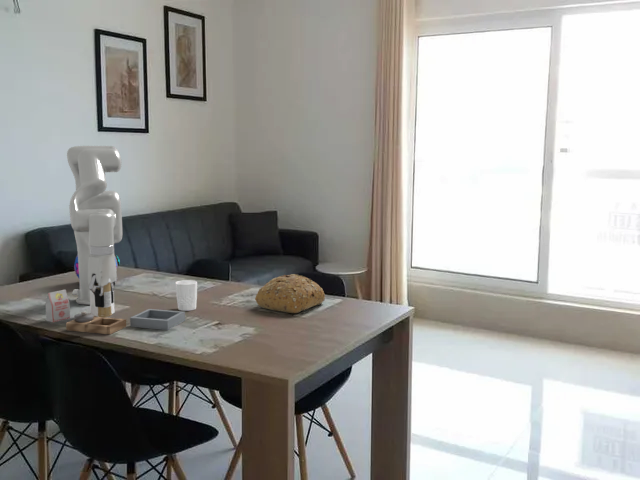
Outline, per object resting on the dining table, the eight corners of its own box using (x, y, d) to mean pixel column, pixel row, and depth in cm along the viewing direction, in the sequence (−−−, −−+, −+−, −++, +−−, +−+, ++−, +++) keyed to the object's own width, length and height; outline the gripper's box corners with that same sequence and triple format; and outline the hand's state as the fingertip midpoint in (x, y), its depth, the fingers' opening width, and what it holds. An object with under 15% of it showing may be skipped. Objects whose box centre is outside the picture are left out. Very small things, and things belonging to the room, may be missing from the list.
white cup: (192, 311, 238) (192, 285, 237) (172, 310, 240) (171, 283, 238) (201, 306, 246) (200, 280, 245) (181, 305, 248) (180, 279, 246)
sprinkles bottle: (95, 315, 216) (93, 276, 214) (107, 312, 219) (105, 273, 217) (102, 318, 213) (100, 278, 211) (115, 315, 217) (113, 275, 214)
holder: (66, 330, 215) (65, 315, 214) (84, 322, 224) (83, 308, 223) (110, 334, 210) (109, 319, 210) (126, 326, 219) (125, 311, 219)
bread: (297, 317, 232) (296, 284, 230) (249, 309, 243) (249, 277, 241) (332, 303, 252) (333, 272, 250) (287, 296, 263) (287, 267, 262)
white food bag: (46, 320, 226) (44, 292, 225) (63, 316, 232) (62, 288, 230) (52, 322, 224) (51, 293, 223) (70, 318, 230) (68, 290, 228)
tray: (130, 326, 219) (130, 317, 219) (149, 317, 231) (148, 308, 230) (167, 330, 215) (167, 320, 215) (185, 320, 227) (184, 311, 226)
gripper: (107, 245, 221) (109, 297, 225) (75, 254, 205) (78, 310, 209) (126, 246, 219) (128, 299, 223) (96, 256, 203) (99, 312, 207)
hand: (104, 304), depth 216 cm, fingers closed on sprinkles bottle, 4 cm apart
